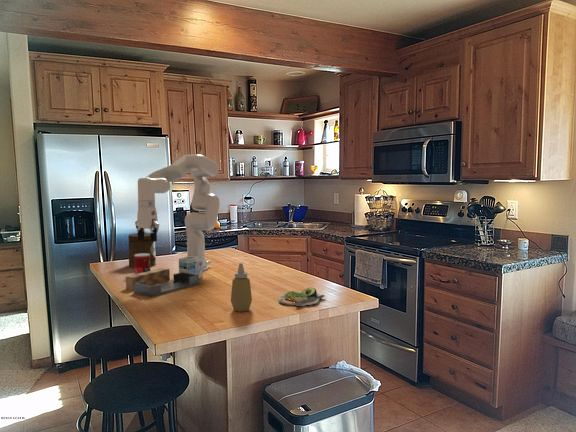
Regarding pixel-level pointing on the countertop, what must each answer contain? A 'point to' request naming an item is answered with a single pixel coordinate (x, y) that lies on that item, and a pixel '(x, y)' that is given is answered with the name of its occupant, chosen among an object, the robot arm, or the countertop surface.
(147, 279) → the rail
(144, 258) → the canned food
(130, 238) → the wooden container
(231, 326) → the countertop surface
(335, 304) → the countertop surface
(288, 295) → the salad plate
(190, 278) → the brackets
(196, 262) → the light bulb box
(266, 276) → the countertop surface
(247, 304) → the squeeze bottle
